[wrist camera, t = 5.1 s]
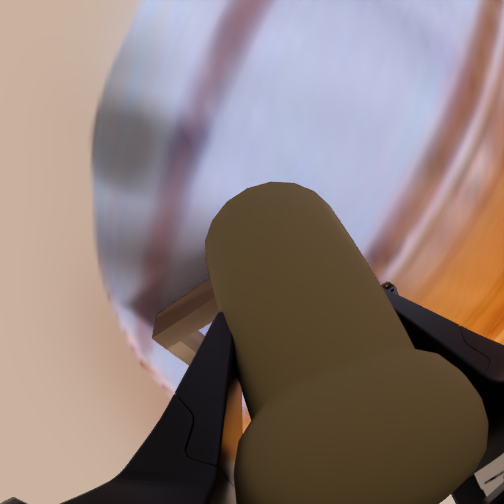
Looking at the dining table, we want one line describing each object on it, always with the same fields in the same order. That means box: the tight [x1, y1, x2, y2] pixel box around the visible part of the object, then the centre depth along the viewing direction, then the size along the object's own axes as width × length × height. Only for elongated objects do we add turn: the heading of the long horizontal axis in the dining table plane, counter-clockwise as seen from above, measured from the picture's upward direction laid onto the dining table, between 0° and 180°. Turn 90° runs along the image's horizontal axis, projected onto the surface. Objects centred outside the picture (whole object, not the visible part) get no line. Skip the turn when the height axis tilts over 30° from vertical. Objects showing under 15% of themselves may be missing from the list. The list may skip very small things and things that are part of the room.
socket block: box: [152, 278, 219, 365], centre depth 24 cm, size 11×11×3 cm
